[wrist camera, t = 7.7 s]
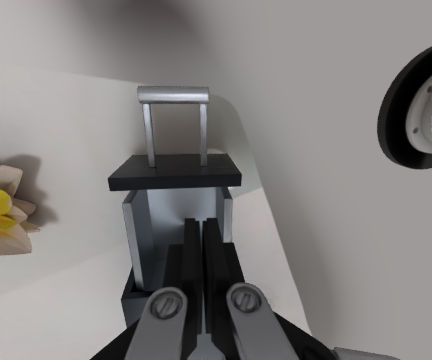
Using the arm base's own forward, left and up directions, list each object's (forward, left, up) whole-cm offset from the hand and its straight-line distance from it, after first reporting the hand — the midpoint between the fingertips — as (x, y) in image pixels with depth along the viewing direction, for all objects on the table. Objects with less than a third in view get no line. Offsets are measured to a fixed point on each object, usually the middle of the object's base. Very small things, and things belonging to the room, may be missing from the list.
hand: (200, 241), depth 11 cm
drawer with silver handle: (+3, -2, -16) cm, 16 cm away
